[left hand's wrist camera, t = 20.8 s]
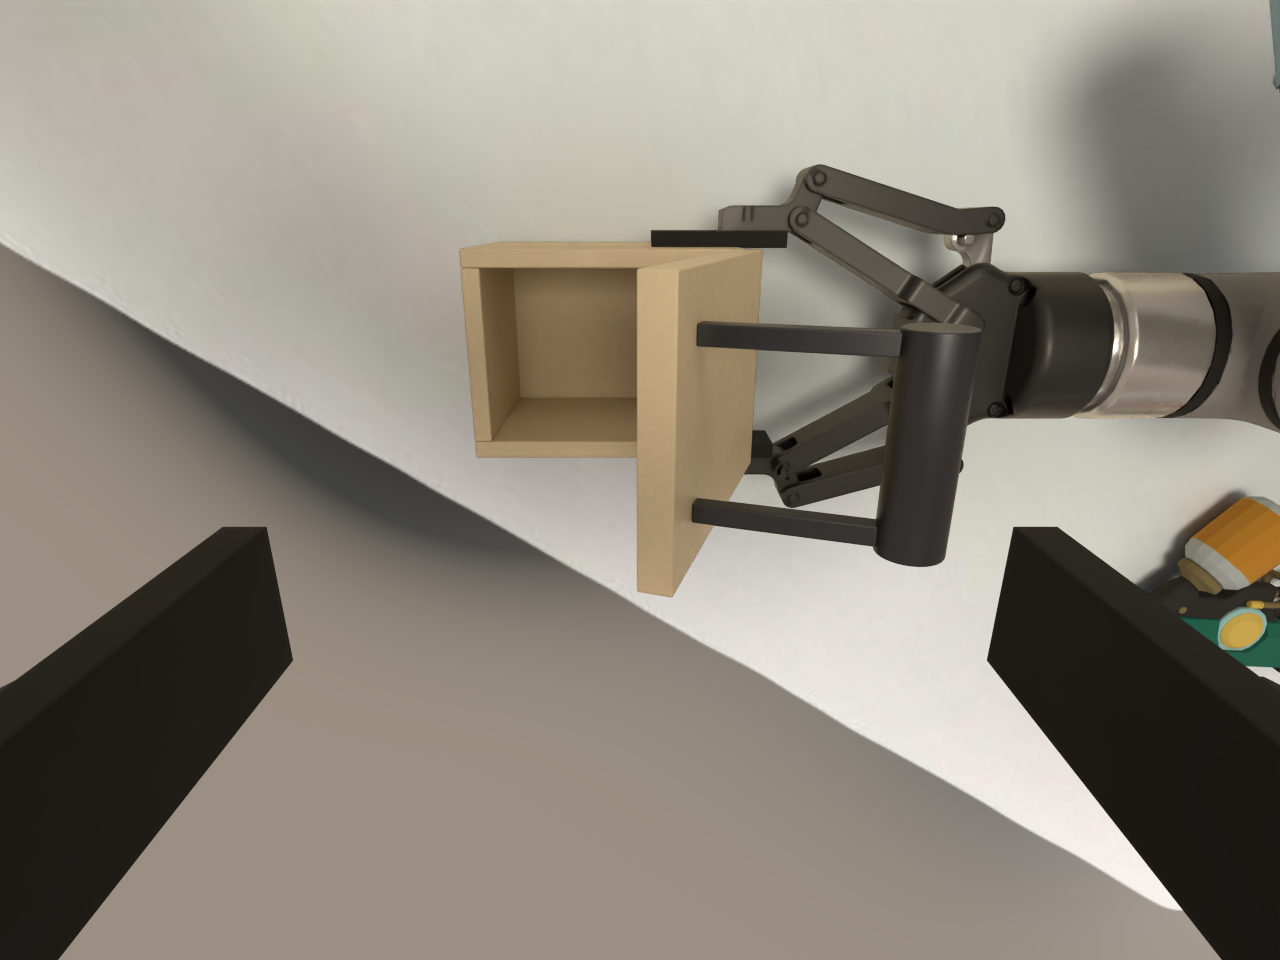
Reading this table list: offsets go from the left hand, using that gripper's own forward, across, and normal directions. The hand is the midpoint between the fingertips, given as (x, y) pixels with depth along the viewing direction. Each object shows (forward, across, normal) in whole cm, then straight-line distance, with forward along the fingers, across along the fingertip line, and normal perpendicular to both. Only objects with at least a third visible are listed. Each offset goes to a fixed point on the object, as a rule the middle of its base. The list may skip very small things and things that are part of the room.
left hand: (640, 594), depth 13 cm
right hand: (+26, +1, 0) cm, 26 cm away
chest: (+33, -2, 0) cm, 33 cm away
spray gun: (+33, +42, -18) cm, 57 cm away
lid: (+16, +2, 0) cm, 16 cm away
